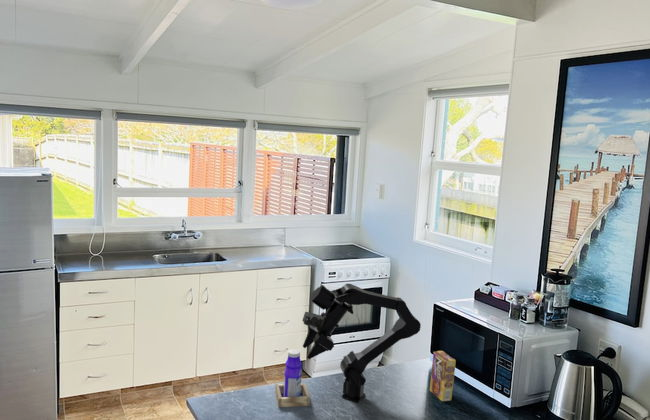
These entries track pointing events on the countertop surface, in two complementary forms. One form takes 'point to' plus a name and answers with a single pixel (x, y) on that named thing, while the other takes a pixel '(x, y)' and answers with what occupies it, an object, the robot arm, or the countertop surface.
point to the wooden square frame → (292, 400)
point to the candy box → (442, 375)
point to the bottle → (293, 374)
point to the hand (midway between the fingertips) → (305, 352)
